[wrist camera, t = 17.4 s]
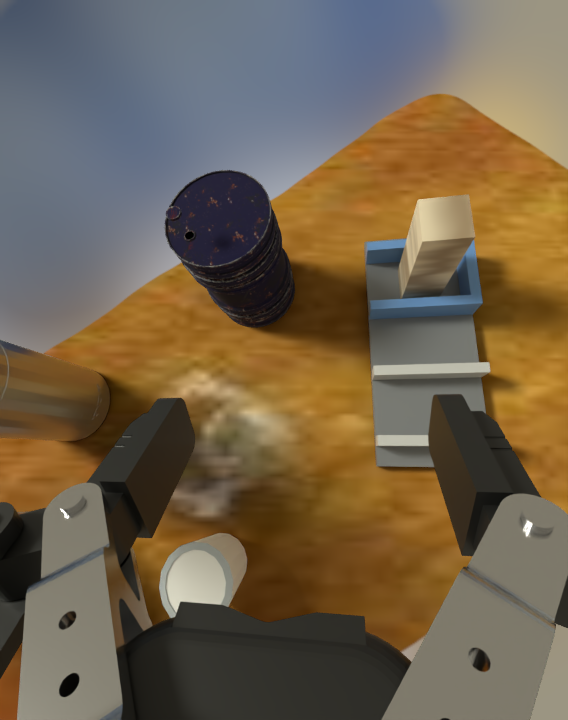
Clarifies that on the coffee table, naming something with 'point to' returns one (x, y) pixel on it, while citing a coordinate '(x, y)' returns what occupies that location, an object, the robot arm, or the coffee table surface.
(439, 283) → the peg
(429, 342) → the grey slotted base
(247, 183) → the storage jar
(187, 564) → the beige cylinder
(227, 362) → the coffee table surface
